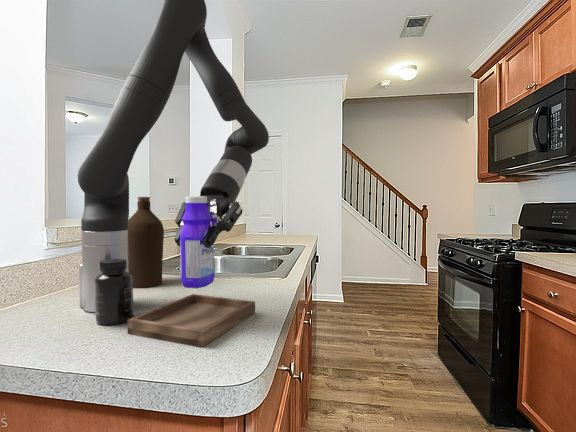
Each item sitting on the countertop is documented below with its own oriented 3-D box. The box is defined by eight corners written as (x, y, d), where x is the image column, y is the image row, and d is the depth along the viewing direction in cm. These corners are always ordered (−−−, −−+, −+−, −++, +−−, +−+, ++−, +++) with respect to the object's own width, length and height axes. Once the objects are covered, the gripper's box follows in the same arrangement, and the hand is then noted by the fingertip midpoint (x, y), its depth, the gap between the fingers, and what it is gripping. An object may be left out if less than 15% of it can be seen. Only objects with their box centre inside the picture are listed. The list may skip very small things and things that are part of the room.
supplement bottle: (123, 312, 74) (123, 256, 74) (139, 319, 70) (139, 260, 70) (89, 320, 69) (88, 260, 69) (104, 328, 65) (103, 264, 64)
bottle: (203, 290, 64) (202, 196, 64) (175, 289, 65) (173, 196, 65) (219, 281, 71) (218, 196, 71) (193, 280, 73) (192, 196, 72)
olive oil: (172, 282, 103) (171, 197, 102) (145, 290, 93) (144, 196, 92) (144, 278, 107) (143, 197, 106) (115, 286, 97) (114, 196, 96)
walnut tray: (127, 333, 63) (127, 319, 62) (192, 304, 80) (192, 293, 80) (203, 347, 57) (202, 332, 57) (255, 313, 75) (255, 301, 74)
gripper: (189, 172, 77) (151, 230, 66) (247, 170, 72) (216, 233, 61) (203, 196, 82) (170, 254, 72) (259, 196, 77) (232, 258, 66)
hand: (191, 244), depth 66 cm, fingers closed on bottle, 5 cm apart
